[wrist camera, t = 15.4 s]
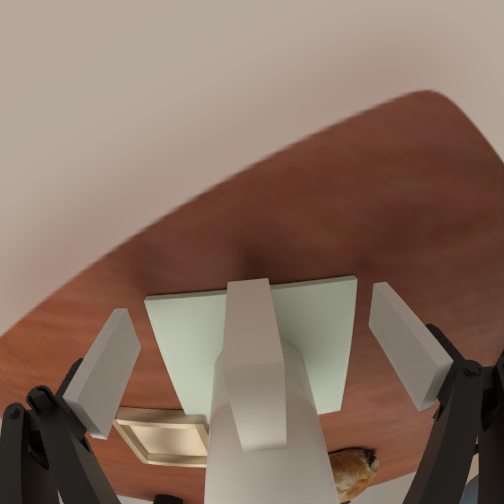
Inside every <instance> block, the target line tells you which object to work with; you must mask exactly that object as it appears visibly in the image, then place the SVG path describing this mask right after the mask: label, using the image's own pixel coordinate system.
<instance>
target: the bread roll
mask: <svg viewBox="0 0 504 504" xmlns="http://www.w3.org/2000/svg"><path fill="white" fill-rule="evenodd" d="M328 456H329V460H330V464H331V469H332V473H333V477H334V481H335V485H336V490H337V494H338V498H339V503H342V502H346V501H348V500H351V499H353V498H354V497H356V496H358V495H359V494H360V493H362V492H363V491H364V490H365V489H366V488H367V487H368V486H369V485H370V483H371V482H372V480H373V479H374V477H375V476H376V474H377V472H376V471H377V467H378V465H379V462H378V461H379V460H378V459H377V458H376V456H373V455H372V456H371V455H370V452H367V451H366V450H361V449H346V450H343V451H340V452H336V453H331V454H328Z"/></svg>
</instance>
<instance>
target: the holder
mask: <svg viewBox="0 0 504 504" xmlns="http://www.w3.org/2000/svg"><path fill="white" fill-rule="evenodd" d="M113 425H114V426H115V428H116V429H117V430H118V432H119V433H120V435H121V436H122V437H123V439H124V440H125V441H126V442H127V444H128V445H129V446H130V448H131V449H132V450H133V451H134V453H135V454H136V455H137V456H138V457H139V459H140V460H141V461H142V462H143V463H148V464H157V465H168V466H183V467H206V465H207V451H208V437H209V425H208V423H207V421H206V418H205V415H186V414H185V412H184V410H161V409H142V408H129V407H118V409H117V412H116V415H115V418H114V421H113Z"/></svg>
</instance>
